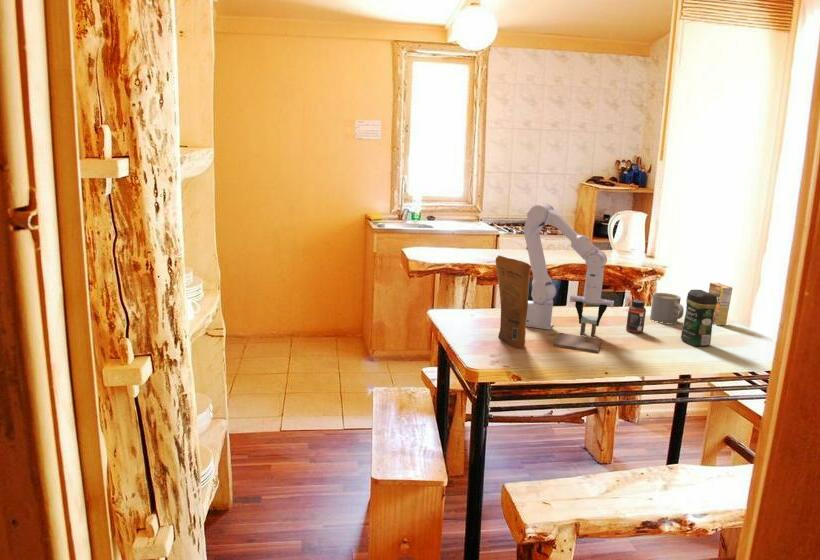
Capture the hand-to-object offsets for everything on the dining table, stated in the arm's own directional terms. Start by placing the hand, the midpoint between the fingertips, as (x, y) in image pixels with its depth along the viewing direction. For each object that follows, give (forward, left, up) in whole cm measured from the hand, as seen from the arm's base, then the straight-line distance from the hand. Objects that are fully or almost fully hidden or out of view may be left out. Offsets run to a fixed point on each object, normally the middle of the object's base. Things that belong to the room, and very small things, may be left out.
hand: (588, 324), depth 213 cm
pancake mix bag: (-23, -22, -4) cm, 32 cm away
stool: (0, 0, -4) cm, 4 cm away
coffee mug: (+26, +37, -4) cm, 45 cm away
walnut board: (-2, -12, -4) cm, 13 cm away
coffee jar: (+35, +11, -4) cm, 37 cm away
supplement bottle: (+15, +15, -4) cm, 22 cm away
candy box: (+44, +46, -4) cm, 64 cm away
